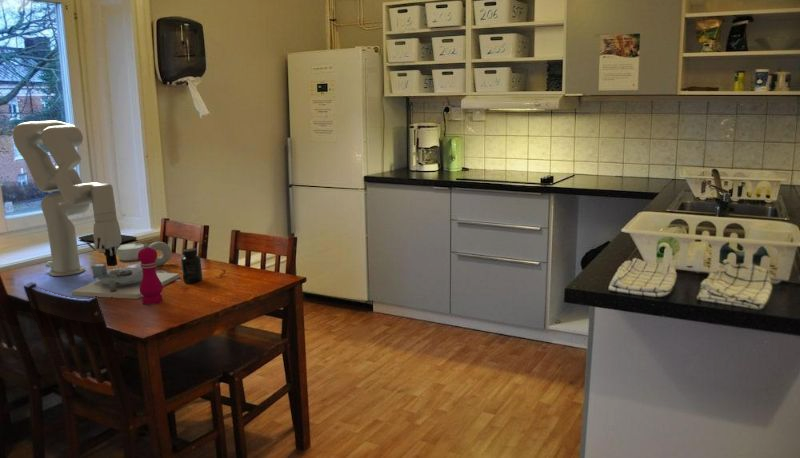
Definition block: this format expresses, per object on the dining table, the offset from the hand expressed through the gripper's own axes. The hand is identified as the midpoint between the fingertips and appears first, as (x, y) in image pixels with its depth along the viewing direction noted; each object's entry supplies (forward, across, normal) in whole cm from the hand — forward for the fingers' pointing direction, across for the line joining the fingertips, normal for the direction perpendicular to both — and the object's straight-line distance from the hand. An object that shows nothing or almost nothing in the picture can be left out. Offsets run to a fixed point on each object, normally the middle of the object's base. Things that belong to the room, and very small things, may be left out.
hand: (112, 265), depth 246 cm
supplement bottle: (+7, -2, +31) cm, 32 cm away
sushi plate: (+5, -54, -51) cm, 75 cm away
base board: (+6, +6, +10) cm, 14 cm away
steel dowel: (+5, +17, +13) cm, 22 cm away
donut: (+6, -22, +5) cm, 23 cm away
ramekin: (+6, -32, -15) cm, 35 cm away
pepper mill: (+7, +22, +30) cm, 38 cm away
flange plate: (+3, +7, +8) cm, 11 cm away
